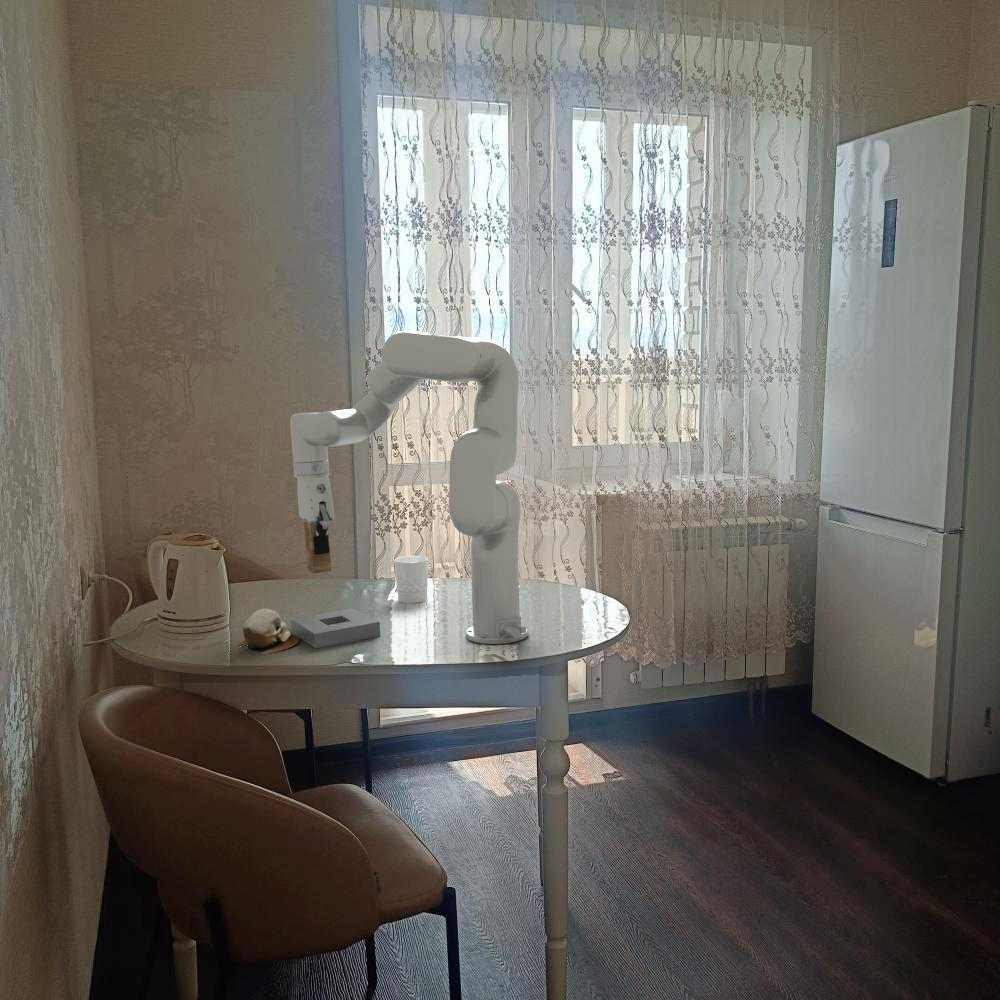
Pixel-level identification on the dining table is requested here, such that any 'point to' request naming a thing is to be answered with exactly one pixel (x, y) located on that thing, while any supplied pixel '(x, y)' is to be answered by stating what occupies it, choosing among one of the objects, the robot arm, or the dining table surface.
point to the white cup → (411, 578)
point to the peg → (313, 561)
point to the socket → (335, 628)
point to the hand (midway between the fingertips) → (317, 551)
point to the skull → (267, 632)
